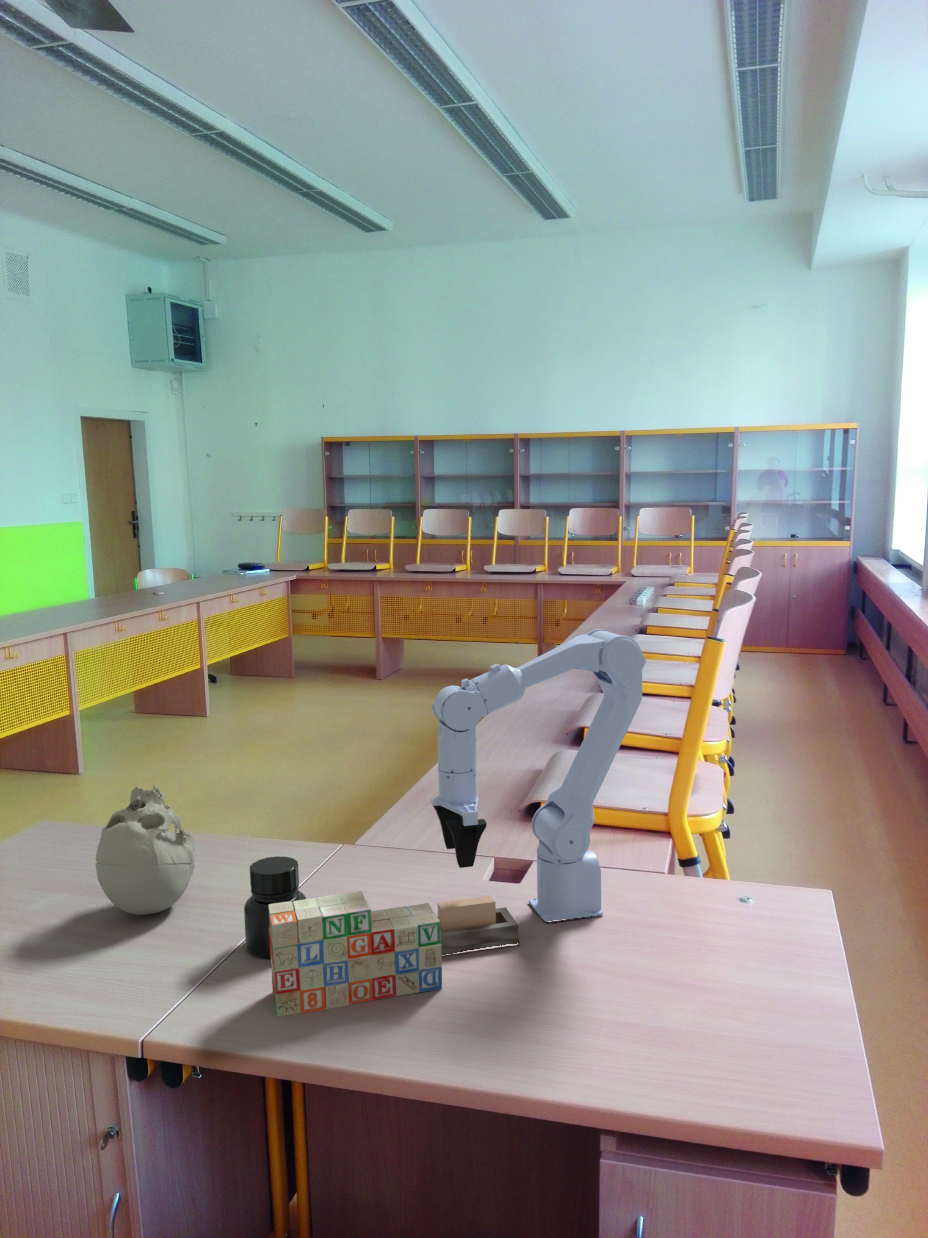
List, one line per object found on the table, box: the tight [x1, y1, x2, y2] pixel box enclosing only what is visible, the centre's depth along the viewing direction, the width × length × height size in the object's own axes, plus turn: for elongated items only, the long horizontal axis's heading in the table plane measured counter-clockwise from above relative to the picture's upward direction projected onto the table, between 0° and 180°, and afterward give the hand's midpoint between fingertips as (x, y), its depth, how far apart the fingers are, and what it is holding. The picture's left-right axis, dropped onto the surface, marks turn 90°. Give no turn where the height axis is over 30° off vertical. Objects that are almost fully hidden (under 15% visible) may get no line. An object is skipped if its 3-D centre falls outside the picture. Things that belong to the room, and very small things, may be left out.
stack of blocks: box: [268, 890, 443, 1017], centre depth 117 cm, size 21×6×12 cm, turn 106°
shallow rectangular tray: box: [436, 907, 520, 955], centre depth 130 cm, size 12×6×3 cm, turn 105°
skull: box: [95, 784, 195, 916], centre depth 141 cm, size 13×15×20 cm
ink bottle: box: [243, 856, 307, 959], centre depth 130 cm, size 10×9×12 cm
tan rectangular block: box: [437, 895, 497, 931], centre depth 130 cm, size 8×2×5 cm, turn 105°
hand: (459, 857), depth 135 cm, fingers open, 7 cm apart
